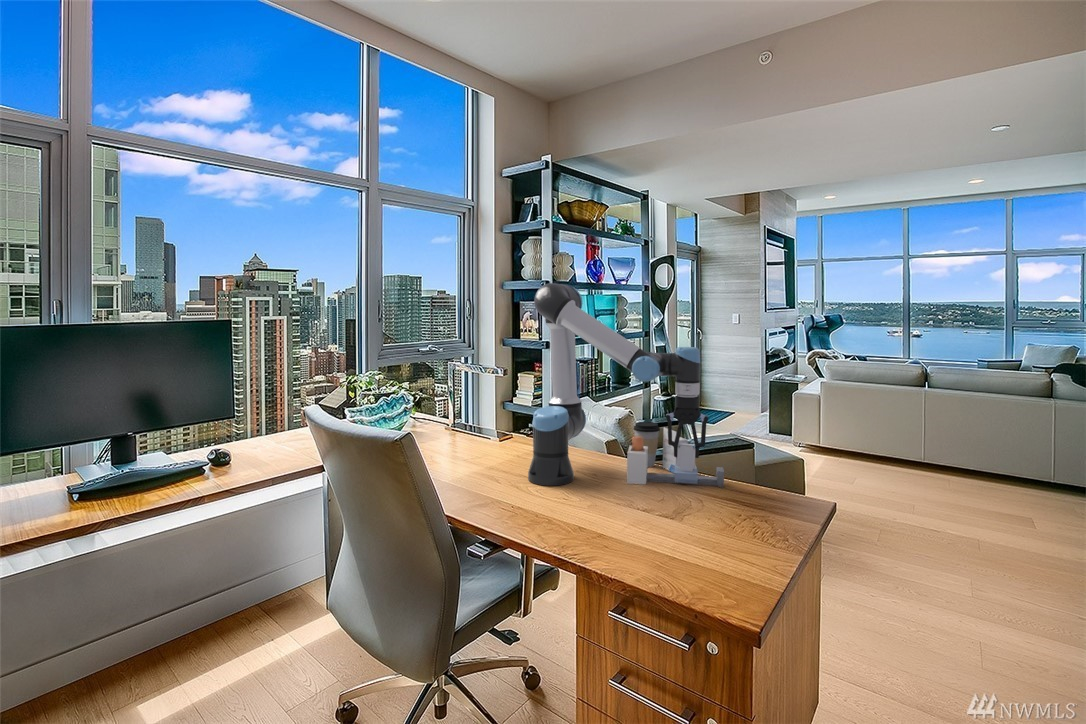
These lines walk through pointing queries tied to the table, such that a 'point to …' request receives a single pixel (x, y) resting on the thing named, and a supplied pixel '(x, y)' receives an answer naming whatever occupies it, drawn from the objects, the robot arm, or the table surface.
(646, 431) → the coffee cup
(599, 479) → the table surface
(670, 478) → the rail
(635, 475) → the cabinet
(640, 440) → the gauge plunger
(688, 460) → the carriage
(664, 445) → the ink box
